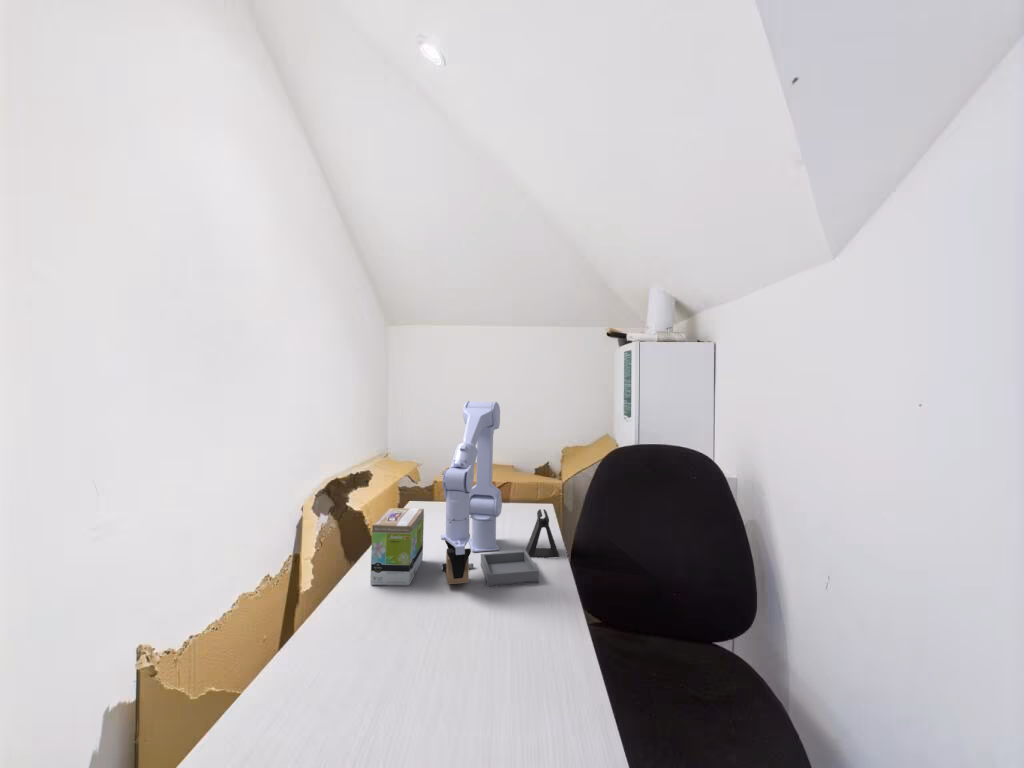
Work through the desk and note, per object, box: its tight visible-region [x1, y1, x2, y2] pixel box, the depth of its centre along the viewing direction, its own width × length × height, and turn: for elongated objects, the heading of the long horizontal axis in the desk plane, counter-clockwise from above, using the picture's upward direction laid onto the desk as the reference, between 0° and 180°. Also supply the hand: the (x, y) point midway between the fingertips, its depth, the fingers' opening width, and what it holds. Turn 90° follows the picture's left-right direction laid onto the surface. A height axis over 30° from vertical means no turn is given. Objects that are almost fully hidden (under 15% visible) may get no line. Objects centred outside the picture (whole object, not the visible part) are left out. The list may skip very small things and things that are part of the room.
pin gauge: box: [442, 562, 474, 572], centre depth 111 cm, size 8×2×2 cm, turn 103°
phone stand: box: [526, 508, 560, 559], centre depth 122 cm, size 9×6×12 cm, turn 90°
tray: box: [480, 550, 540, 588], centre depth 109 cm, size 13×13×3 cm
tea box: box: [369, 507, 425, 586], centre depth 109 cm, size 15×10×15 cm, turn 0°
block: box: [445, 550, 470, 585], centre depth 103 cm, size 5×5×6 cm
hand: (457, 572), depth 103 cm, fingers closed on block, 5 cm apart
